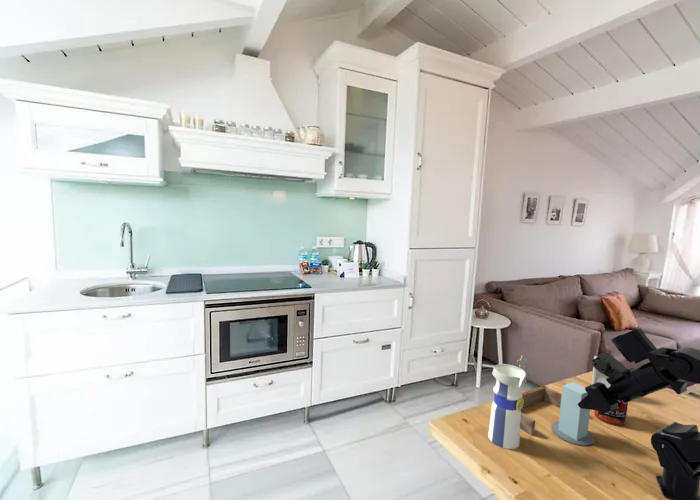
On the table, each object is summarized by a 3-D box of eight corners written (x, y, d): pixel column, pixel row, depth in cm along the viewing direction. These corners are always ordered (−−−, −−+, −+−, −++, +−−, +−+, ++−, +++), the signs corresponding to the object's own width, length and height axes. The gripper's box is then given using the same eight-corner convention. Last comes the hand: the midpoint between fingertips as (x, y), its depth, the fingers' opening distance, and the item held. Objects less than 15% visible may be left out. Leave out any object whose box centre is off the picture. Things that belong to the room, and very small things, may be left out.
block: (587, 435, 94) (592, 390, 92) (576, 440, 91) (581, 394, 90) (568, 425, 98) (573, 381, 97) (558, 429, 96) (562, 385, 94)
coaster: (596, 450, 88) (596, 449, 88) (551, 437, 93) (551, 435, 93) (592, 430, 97) (592, 429, 97) (551, 418, 102) (551, 417, 102)
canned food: (596, 421, 101) (600, 386, 100) (591, 408, 108) (595, 375, 107) (628, 429, 97) (633, 393, 96) (622, 415, 104) (626, 381, 103)
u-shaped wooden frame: (578, 414, 104) (579, 402, 104) (531, 435, 94) (532, 421, 93) (542, 397, 114) (543, 385, 113) (496, 413, 103) (497, 401, 103)
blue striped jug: (527, 440, 91) (535, 350, 89) (513, 454, 86) (521, 358, 83) (496, 425, 97) (503, 340, 95) (481, 437, 92) (488, 348, 89)
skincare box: (612, 393, 118) (616, 359, 116) (614, 399, 114) (618, 364, 113) (590, 388, 121) (593, 355, 120) (591, 393, 117) (594, 359, 116)
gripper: (637, 342, 89) (587, 366, 100) (597, 354, 80) (548, 379, 91) (672, 384, 83) (615, 405, 93) (634, 402, 74) (576, 423, 85)
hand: (588, 401), depth 91 cm, fingers open, 9 cm apart
